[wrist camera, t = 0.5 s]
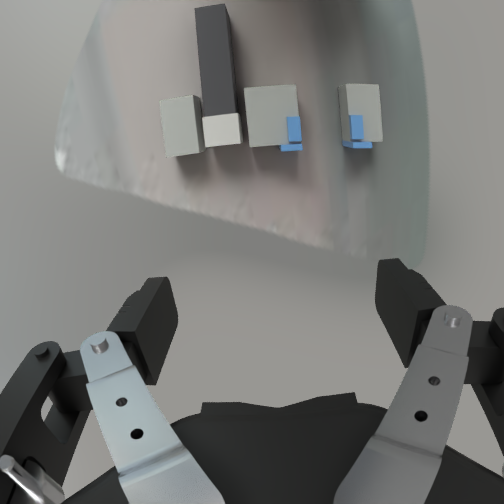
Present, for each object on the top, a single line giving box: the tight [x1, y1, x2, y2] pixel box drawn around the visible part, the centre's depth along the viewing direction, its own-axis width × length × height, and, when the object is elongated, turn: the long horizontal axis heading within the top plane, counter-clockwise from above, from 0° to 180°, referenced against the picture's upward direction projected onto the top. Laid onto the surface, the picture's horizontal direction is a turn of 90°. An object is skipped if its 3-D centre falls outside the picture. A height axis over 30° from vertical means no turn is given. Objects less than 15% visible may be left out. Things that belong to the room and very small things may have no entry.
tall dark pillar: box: [195, 4, 243, 147], centre depth 29 cm, size 15×3×4 cm, turn 5°
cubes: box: [159, 84, 383, 158], centre depth 30 cm, size 7×22×4 cm, turn 95°
